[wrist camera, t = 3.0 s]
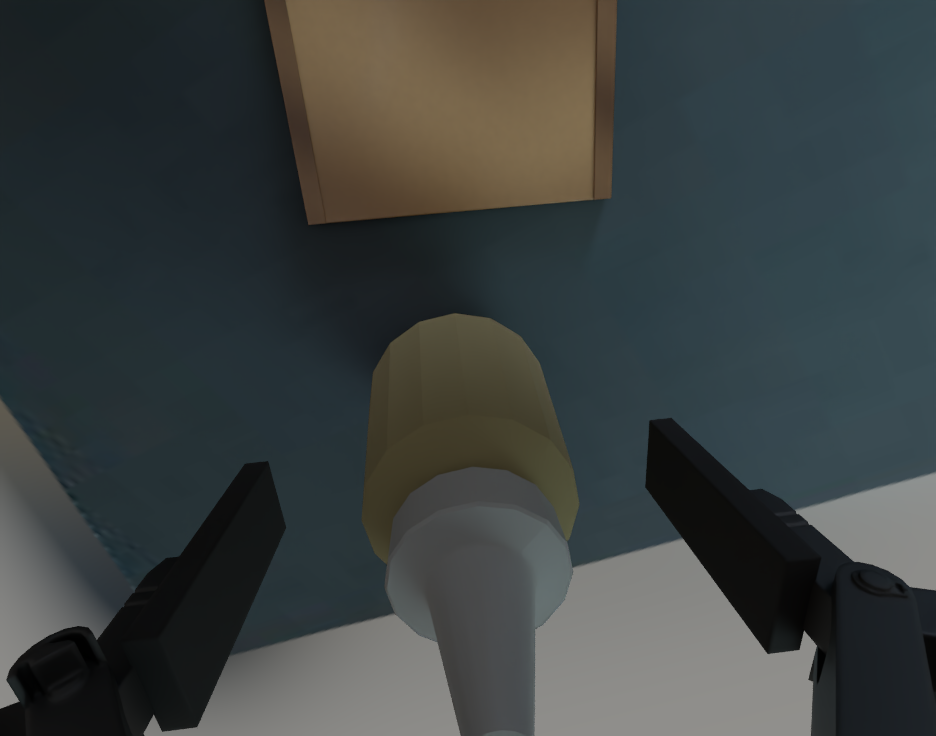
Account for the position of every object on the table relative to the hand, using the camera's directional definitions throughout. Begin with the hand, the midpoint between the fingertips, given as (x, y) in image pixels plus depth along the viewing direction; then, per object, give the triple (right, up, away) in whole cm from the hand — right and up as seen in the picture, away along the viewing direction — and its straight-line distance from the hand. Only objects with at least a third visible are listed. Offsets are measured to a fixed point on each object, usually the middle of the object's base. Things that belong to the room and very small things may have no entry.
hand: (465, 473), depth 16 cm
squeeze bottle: (-1, +4, +9) cm, 10 cm away
